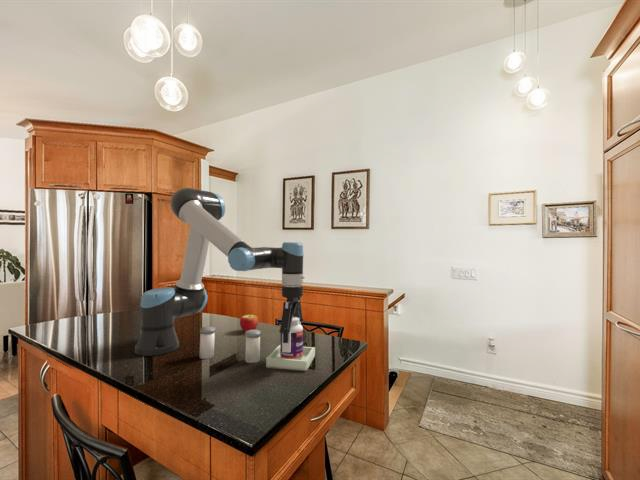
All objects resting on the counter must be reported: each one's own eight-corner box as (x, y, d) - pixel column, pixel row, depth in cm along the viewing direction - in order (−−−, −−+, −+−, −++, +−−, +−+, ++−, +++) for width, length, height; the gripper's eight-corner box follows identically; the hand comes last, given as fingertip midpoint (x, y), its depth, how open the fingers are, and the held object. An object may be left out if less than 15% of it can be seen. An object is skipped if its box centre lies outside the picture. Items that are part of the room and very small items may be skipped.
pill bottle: (299, 364, 105) (299, 322, 105) (277, 362, 106) (277, 320, 107) (305, 356, 112) (305, 316, 113) (284, 354, 114) (284, 315, 114)
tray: (266, 367, 104) (266, 358, 104) (279, 352, 117) (279, 344, 117) (306, 371, 101) (306, 361, 101) (315, 355, 115) (315, 347, 115)
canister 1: (196, 358, 111) (197, 330, 111) (203, 353, 116) (204, 326, 116) (210, 359, 110) (211, 331, 110) (216, 354, 116) (218, 327, 116)
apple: (261, 330, 147) (261, 309, 147) (248, 335, 139) (248, 313, 139) (249, 328, 151) (249, 307, 151) (235, 332, 144) (236, 310, 144)
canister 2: (242, 362, 107) (243, 333, 107) (247, 356, 113) (248, 329, 113) (257, 363, 107) (258, 334, 107) (262, 357, 112) (262, 329, 112)
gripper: (293, 291, 96) (292, 358, 96) (310, 281, 121) (309, 335, 121) (270, 290, 98) (269, 357, 98) (292, 280, 122) (291, 334, 122)
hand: (292, 345), depth 109 cm, fingers open, 13 cm apart
